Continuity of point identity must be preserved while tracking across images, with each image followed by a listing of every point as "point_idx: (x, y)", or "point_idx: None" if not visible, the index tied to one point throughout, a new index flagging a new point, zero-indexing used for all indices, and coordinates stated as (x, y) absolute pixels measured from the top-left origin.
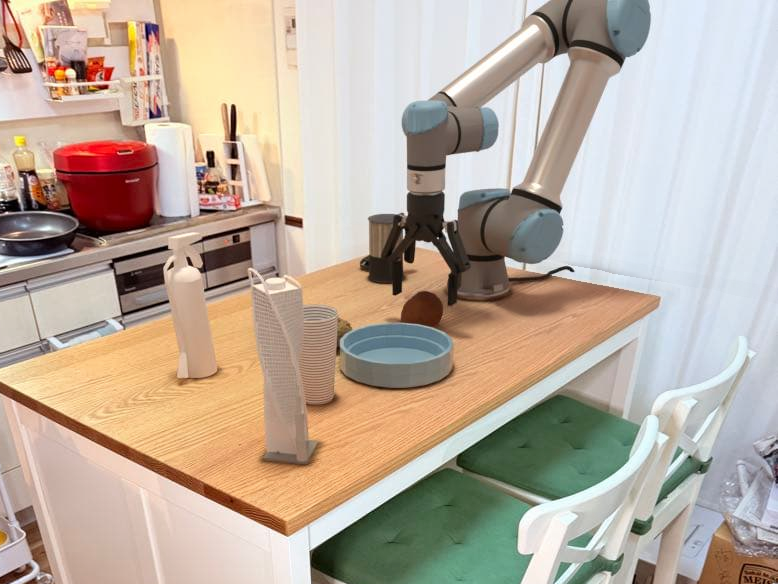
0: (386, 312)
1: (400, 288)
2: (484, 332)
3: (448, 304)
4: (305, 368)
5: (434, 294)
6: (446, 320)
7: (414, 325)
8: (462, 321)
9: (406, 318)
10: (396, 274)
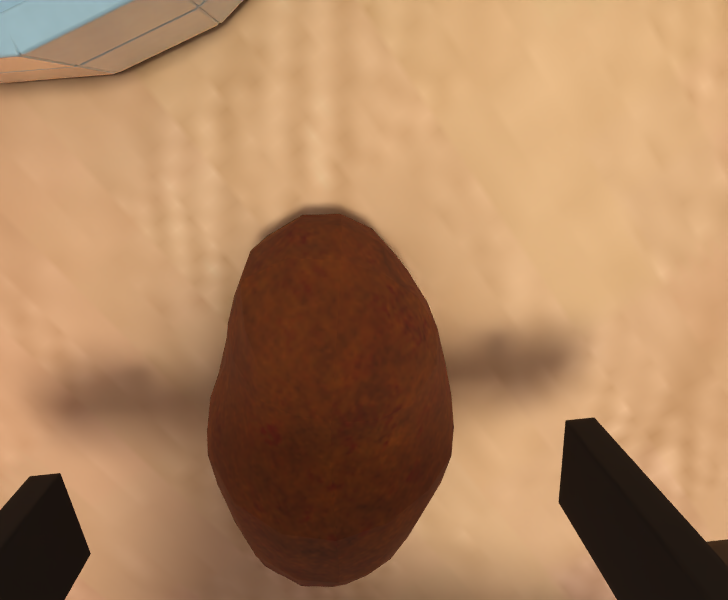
0: (624, 427)
1: (577, 511)
2: None
3: (41, 482)
4: None
5: (285, 571)
6: None
7: (22, 4)
8: (238, 541)
9: (329, 246)
10: (680, 592)
